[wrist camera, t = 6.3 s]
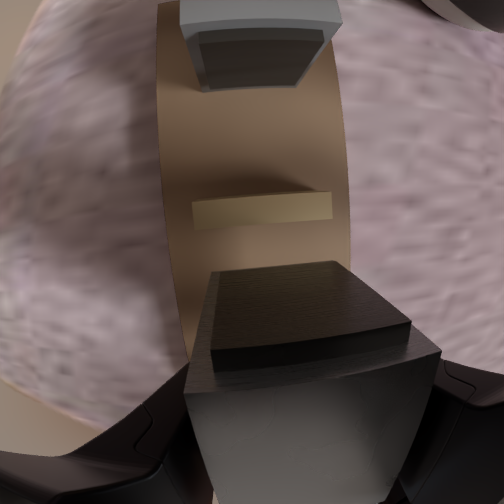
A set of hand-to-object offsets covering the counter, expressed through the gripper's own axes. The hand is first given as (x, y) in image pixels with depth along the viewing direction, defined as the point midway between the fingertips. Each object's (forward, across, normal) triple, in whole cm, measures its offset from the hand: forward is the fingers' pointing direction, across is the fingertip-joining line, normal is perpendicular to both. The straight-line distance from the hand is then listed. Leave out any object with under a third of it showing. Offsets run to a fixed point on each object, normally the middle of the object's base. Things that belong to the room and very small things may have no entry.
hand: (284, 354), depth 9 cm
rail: (+6, 0, -5) cm, 8 cm away
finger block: (+2, 0, 0) cm, 2 cm away
